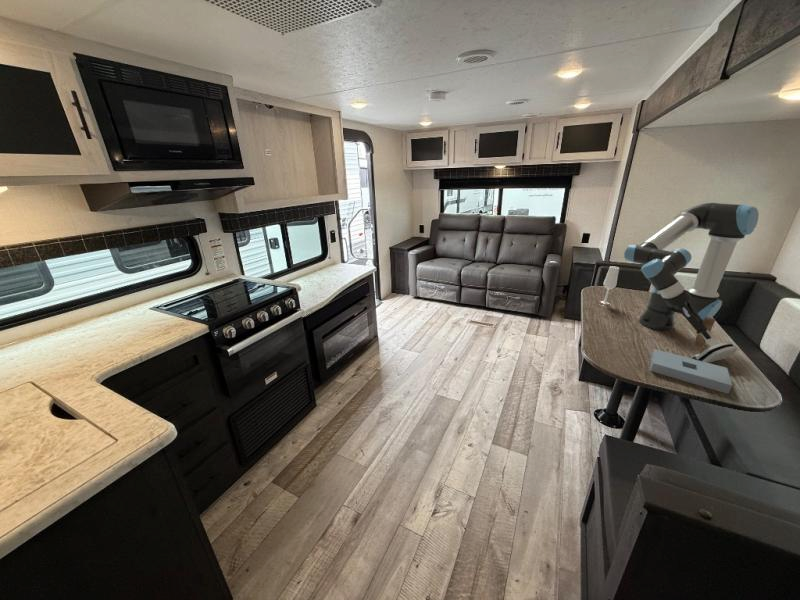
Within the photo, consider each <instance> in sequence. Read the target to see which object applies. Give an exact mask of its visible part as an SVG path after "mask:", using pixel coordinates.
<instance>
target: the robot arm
mask: <svg viewBox="0 0 800 600" xmlns="http://www.w3.org/2000/svg"><path fill="white" fill-rule="evenodd" d="M758 222H759V210H758V208H757V207H756V206H753V205H746V204H736V203H735V204H734V203H730V204H729V203H718V202H707V203H706V202H705V203H702V204H701V203H700V204H697V205H695V206H692V207H689V208H688V209H687V208H686V209H685V210H682V211H681V212H679V213H678V214H677V215H676V216H675V217H674V219H673V220H672V221H671V222H670V223H669V224H667V225H666V226H664V227H663V228H662V229H660V230H659V231H657V232H656V233H654V234H653V235H652V236H650V237H649V238H647V239H646V240H645V241H643V242H642V243H640V244H629V245H628V246H627V247H626V249H625V250H624V252H623V253H624V256H623V258H624V259H625V260H626V261H629V262H632V263H636V264H639V265H642V266H641V268H640V271H641V272H642V274H643V275H644V277H645V278H646V279H647V280H648V281H649V283H650V284H651V285H652V286H653V289H652V291H651V295H650V297H649V298H650V299H649V301H648V305H647V307H646V309H644V311H643V312H642V314H641V315H640V316H639V318H638V322H639V323H640V324H641V325H643V326H644V327H647V328H650V329H654V330H656V331H657V330H658V331H665V332H666V331H667V332H668V331H672V330H673V329H674V328H675V313H676V314H677V313H678V314H680V315H682V316H683V317H684V319H686V320H687V321H688V322H689V324H690V325H691V326H692V328H693V329H694V330H695V331H696V333H695V334H698V333H700V334H701V336H702V337H703V338H704V339H705V341H706V342H705V343H707V344H708V345H709V347H711V346H714V345H717V344H720V343H719V341H718V338H717V336H715V335H714V333H713V332H712V330H711V331H710V332H709V331H708V329H706V328H705V327H704V325H703V324H702V323H703V321H704V319H705V317H710V318H713V317H714V316H715V315H716V313H718V312H719V310H720V308H721V306H722V305H723V301H722V300H721V299H719V297H720V293H719V292H718V291H717V290H718V288H719V287H720V284H721V281H722V279H723V276H724V274H725V272H726V270H727V267H728V265H729V262H730V260H731V257H732V255H733V253H734V251H735V248H736V246H737V243H738V242H739V241H741V240H743V239H745V236H748V235H749V236H750V235H751V234H752V233H753V232H754V230H755V228H756V227H757V225H758ZM695 229H703V230H708V234H707V235H708V236H709V237H710V241H709V243H708V246H707V248H706V251H705V253H704V257H703V258H702V261H701V264H700V266H699V269H698V272H697V273H696V277H695V279H694V281H693V285H692V286H690V287H689V288H687V289H685V287H684V286H683V284H682V283H681V282H680V280H678V279H677V278H676V277H675V275H676V274H677V273H678V272H680V271H681V270H682V269H684V268H685V267H686V266H687V265H688V264H689V263H690V262H691V260H692V254H691V253H690V251H689V250H687V249H684V248H681V247H679V248H675V249H674V248H673V250H671V251H669V250H665V249H666V248H667V247H669V246H671V244H673V243H674V242H675V241H677V240H678V239H679V238H681V237H683V236H684V235H685V234H686V233H688V232H692V231H694V230H695Z"/></svg>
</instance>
